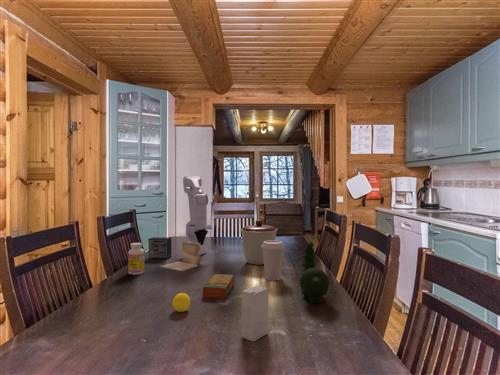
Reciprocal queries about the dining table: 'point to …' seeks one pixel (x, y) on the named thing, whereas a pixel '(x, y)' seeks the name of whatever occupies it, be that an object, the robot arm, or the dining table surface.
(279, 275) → the coffee cup
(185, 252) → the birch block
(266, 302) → the skincare box
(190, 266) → the beige mat
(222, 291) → the carton
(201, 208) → the robot arm
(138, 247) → the supplement bottle
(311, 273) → the green topiary plant
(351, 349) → the dining table surface
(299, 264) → the dining table surface
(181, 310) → the lemon
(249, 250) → the canister
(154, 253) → the small box
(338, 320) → the dining table surface
